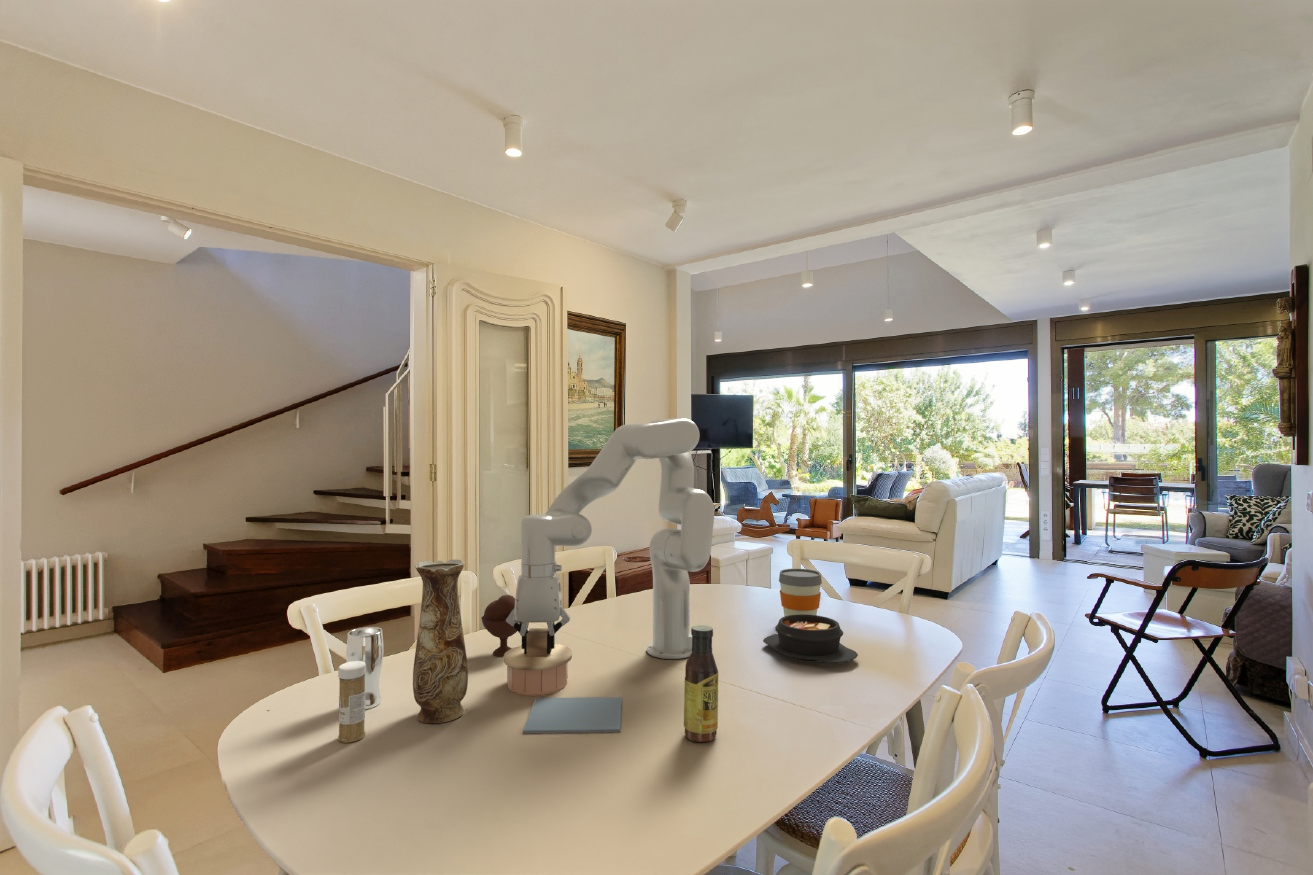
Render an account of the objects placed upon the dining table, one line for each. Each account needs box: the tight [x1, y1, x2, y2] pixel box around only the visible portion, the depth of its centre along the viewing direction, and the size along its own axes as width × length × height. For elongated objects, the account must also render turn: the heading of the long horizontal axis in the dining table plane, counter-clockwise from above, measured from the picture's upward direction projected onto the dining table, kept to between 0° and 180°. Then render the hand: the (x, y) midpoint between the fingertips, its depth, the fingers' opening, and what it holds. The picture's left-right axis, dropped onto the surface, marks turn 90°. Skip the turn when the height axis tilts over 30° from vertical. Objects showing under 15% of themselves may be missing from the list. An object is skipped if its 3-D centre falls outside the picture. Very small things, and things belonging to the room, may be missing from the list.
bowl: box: [506, 662, 569, 697], centre depth 142 cm, size 13×13×6 cm
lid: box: [503, 627, 573, 670], centre depth 142 cm, size 15×15×7 cm
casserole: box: [762, 614, 859, 665], centre depth 162 cm, size 25×19×8 cm
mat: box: [522, 696, 623, 734], centre depth 126 cm, size 18×15×1 cm
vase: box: [412, 559, 469, 724], centre depth 127 cm, size 10×11×30 cm
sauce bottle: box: [683, 624, 719, 743], centre depth 117 cm, size 7×6×20 cm
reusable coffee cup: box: [778, 568, 823, 617], centre depth 190 cm, size 13×13×15 cm
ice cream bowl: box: [481, 594, 522, 658], centre depth 163 cm, size 11×11×15 cm
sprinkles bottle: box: [337, 661, 366, 744], centre depth 116 cm, size 5×5×14 cm
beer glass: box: [345, 626, 384, 711], centre depth 131 cm, size 7×7×15 cm
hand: (538, 651), depth 142 cm, fingers closed on lid, 4 cm apart
